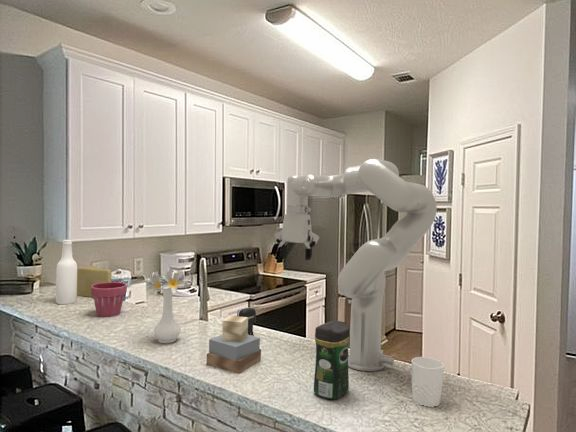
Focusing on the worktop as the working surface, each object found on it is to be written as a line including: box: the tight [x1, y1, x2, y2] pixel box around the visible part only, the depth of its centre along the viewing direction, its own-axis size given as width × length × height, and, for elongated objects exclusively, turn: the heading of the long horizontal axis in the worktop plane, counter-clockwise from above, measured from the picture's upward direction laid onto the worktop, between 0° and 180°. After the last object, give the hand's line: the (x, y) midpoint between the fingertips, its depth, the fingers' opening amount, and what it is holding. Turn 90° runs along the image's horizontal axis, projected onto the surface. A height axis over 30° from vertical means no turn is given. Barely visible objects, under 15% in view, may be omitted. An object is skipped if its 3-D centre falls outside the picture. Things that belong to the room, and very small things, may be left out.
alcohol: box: [55, 239, 78, 306], centre depth 195 cm, size 9×9×30 cm
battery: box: [236, 306, 257, 337], centre depth 149 cm, size 7×4×11 cm, turn 139°
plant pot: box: [91, 281, 128, 318], centre depth 177 cm, size 14×14×13 cm
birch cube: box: [221, 315, 248, 342], centre depth 127 cm, size 6×6×6 cm
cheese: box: [77, 265, 113, 299], centre depth 209 cm, size 22×10×15 cm, turn 56°
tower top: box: [208, 334, 261, 361], centre depth 127 cm, size 11×11×4 cm
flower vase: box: [144, 270, 190, 344], centre depth 145 cm, size 13×18×25 cm
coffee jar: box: [313, 319, 350, 400], centre depth 108 cm, size 10×8×19 cm
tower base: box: [206, 348, 262, 374], centre depth 127 cm, size 12×12×4 cm
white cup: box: [411, 356, 445, 407], centre depth 105 cm, size 8×8×10 cm
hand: (295, 258), depth 146 cm, fingers open, 9 cm apart
